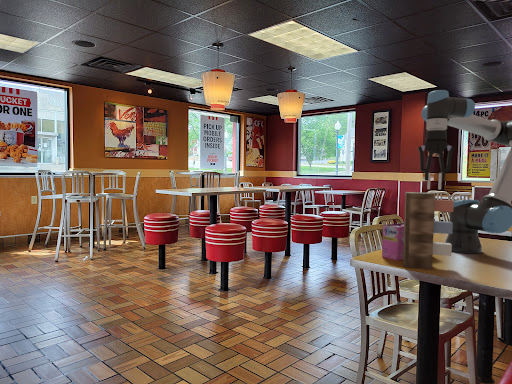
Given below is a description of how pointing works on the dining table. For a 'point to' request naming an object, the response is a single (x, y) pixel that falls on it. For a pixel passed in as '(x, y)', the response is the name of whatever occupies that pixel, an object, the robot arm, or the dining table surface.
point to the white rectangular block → (442, 248)
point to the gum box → (393, 241)
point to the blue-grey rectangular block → (443, 227)
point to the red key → (444, 205)
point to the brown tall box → (418, 230)
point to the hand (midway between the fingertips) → (434, 189)
